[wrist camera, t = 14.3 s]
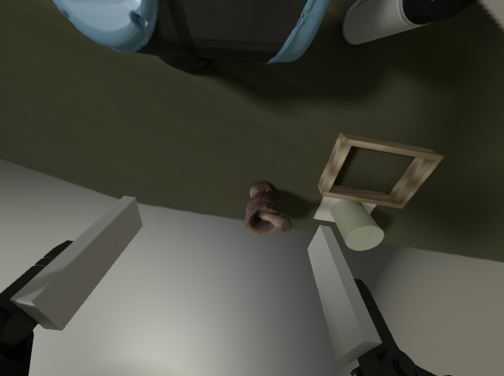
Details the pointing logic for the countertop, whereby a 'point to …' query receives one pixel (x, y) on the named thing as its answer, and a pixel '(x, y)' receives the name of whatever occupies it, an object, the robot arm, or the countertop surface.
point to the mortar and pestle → (265, 210)
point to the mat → (328, 203)
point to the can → (356, 225)
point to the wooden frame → (396, 198)
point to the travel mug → (395, 17)
